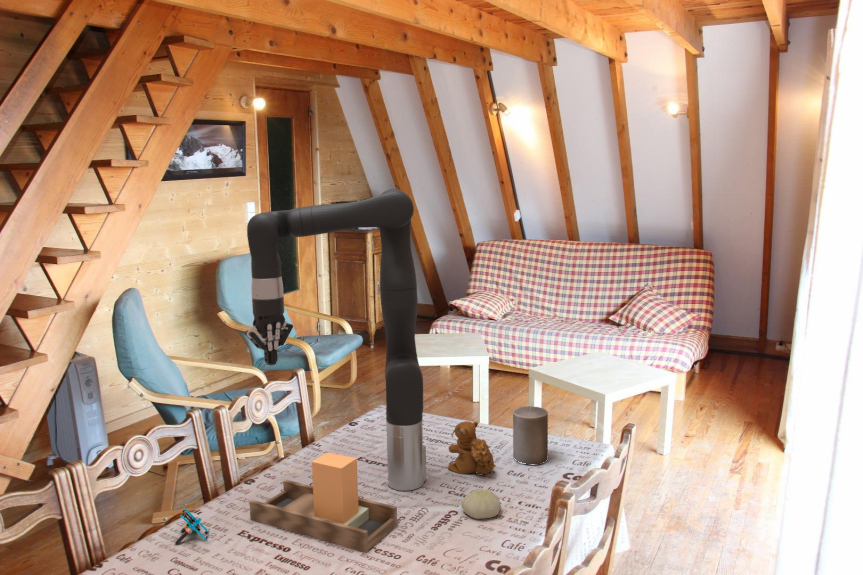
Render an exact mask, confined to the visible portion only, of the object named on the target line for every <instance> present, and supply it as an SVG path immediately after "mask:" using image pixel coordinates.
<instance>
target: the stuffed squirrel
mask: <svg viewBox="0 0 863 575" xmlns="http://www.w3.org/2000/svg"><path fill="white" fill-rule="evenodd" d="M478 425H479V422H478V420H477V421H473V422H472V421H467V420H466V421H461V422H459V423H458V424H456V425H455V426H454V430H453V432H452V434H451V436H450V437H451V438H452V439H454V435H455V437H456V438H457V439H456V444H455V443H454V444H453V443H452V444H450V445H449V446H448V451H449V452H450V453H451V454H458V456H457V458H456V459H455V460H454V463H450V464H448V466H447V471H451V472H453V471H454V473H456V472H457V474H459V473H468V474H473V473H476V472H477V474H476V475H478V474H484V475H486V474H489V472H490V473H492V472H493V471H494V469H495V467H496V464H495V462H494V457H493V453H492V452H491V451H490V446H489V445H488V444H487V441H486V440H485V439H483V438H478V437H477V433H476V430H477V428H478ZM475 471H476V472H475ZM472 472H473V473H472Z"/></svg>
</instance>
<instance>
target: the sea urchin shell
mask: <svg viewBox="0 0 863 575" xmlns="http://www.w3.org/2000/svg"><path fill="white" fill-rule="evenodd" d="M501 506H502V505H501V501H500V499H499V497H498V496H497V495H496V493H494V492H493V491H491V490H488V489H475V490H472V491H470V492H468V494H466V495H465V496H464V498H463V499H462V501H461V508H462V511H464V513H465V514H467V515H468V516H469V517H471V518H473V519H477V520H479V519H480V520H481V519H483V520H485V519H490V518H495V517H496V516H497V515H498V514H499V513H500V511H501Z"/></svg>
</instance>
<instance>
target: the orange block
mask: <svg viewBox="0 0 863 575" xmlns="http://www.w3.org/2000/svg"><path fill="white" fill-rule="evenodd" d="M311 471H312V472H311V474H312V486H313V500H314V516H316V517H319V518H323V519H327V520H330V521H334V522H338V523H342V524H344V523H345V522H347V521H348V520H349V519H351V518H352V517H353V516H354V515H356V514H357V513H358V512H359V509H358V497H359V487H358V486H359V484H358V481H359V480H358V458H356V457H352V456H348V455H343V454H338V453H333V452H330V451H329V452H328V451H327V452H326V453H324V454H322V455H321V456H319V457H318V458H315V459H314V460H312V461H311Z"/></svg>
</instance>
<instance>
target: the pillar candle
mask: <svg viewBox="0 0 863 575" xmlns="http://www.w3.org/2000/svg"><path fill="white" fill-rule="evenodd" d="M548 414H549V413H548V410H546V409H545V408H543V407H540V406H534V405H533V406H531V405H530V406H520V407H515V408H514V409H513V410H512V449H513V452H512V453H513V454H512V455H513V456H512V457H514V458H515V459H516V460H517V461H519V462H522V463H526V464H538V465H541V464H540V463H543V462H545V461H546V460H547V456H549V455H548V453H549V452H548V451H549V449H548V448H549V445H548V444H549V443H548V442H549V440H548V439H549V438H548V436H549V435H548V434H549V431H548V429H549V427H548V424H549V418H548V417H549V415H548ZM514 458H513V459H514ZM547 461H548V460H547ZM545 463H546V462H545ZM543 464H544V463H543Z"/></svg>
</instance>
